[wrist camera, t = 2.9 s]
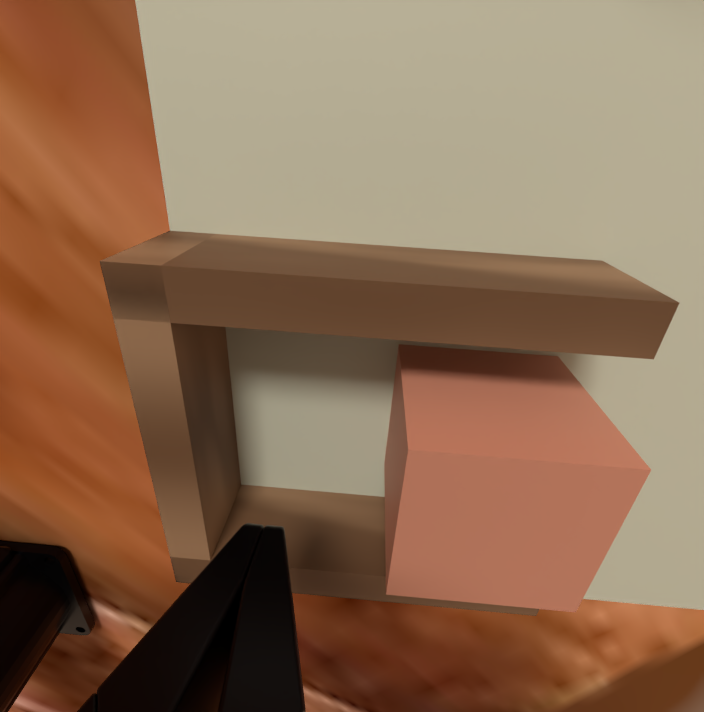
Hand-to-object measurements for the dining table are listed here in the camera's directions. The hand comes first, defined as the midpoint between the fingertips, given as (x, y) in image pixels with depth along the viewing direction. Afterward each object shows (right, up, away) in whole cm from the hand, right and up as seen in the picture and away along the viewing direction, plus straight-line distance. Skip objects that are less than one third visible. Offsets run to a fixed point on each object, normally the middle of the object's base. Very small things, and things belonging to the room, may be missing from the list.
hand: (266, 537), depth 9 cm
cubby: (+2, +2, +4) cm, 5 cm away
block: (+5, +2, +4) cm, 7 cm away
